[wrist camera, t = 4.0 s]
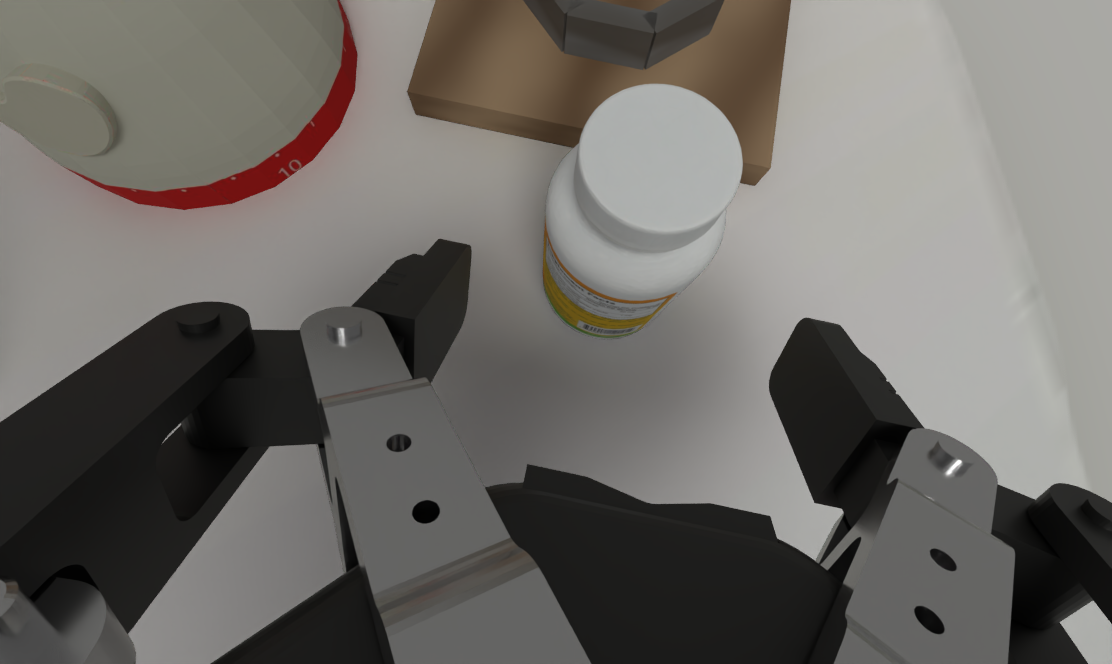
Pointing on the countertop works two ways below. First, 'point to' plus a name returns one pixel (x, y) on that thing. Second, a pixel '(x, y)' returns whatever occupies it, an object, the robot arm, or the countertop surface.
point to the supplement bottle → (637, 208)
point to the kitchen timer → (177, 91)
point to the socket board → (601, 63)
